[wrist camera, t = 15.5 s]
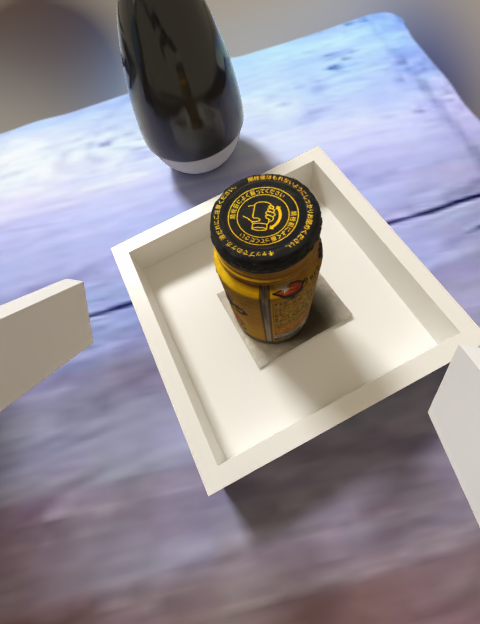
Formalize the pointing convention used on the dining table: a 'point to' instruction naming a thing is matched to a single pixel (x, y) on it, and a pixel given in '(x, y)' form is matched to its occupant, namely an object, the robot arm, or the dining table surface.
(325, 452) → the dining table surface
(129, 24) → the pump dispenser
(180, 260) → the tray
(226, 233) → the condiment
